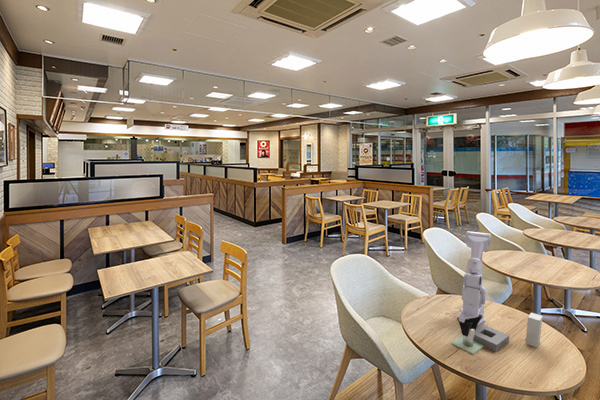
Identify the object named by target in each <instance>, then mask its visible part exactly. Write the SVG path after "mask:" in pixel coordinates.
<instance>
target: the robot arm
mask: <svg viewBox="0 0 600 400" xmlns="http://www.w3.org/2000/svg"><path fill="white" fill-rule="evenodd" d="M491 241H492V234H491V233H490V232H489V233H487V232H479V231H478V232H476V231H469V230H467V231H466V234H465V244H466V247H467V248H470V249H471V252H470V254H471V255H470V256H471V257H470V258H469V259H468V260H467V263H466V268H465V269H466V270H465V273H464V275H463V285H462V289H461V300H462V307H461V308H460V309H459V311H460V315H458V317H457V318H456V321H457V322H458V324H459V326H460V330H461V336H462V335H464V336H466V337H467V336H468V334H469V330H470V327H473V328H474V329H475V330H476V328H477V325H478V324H480V323H481V324H483V323H484V322H485V321H486V319H485V318H484V316H485V315H484V314H485V306H484V305H485V304H486V297H487V295H486V293H487V291H486V290H487V289H486V287H485V286H484V285H483V267H484V263H483V261H482V260H483V254H484V251H488V250H489V249H490V247H491Z"/></svg>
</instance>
